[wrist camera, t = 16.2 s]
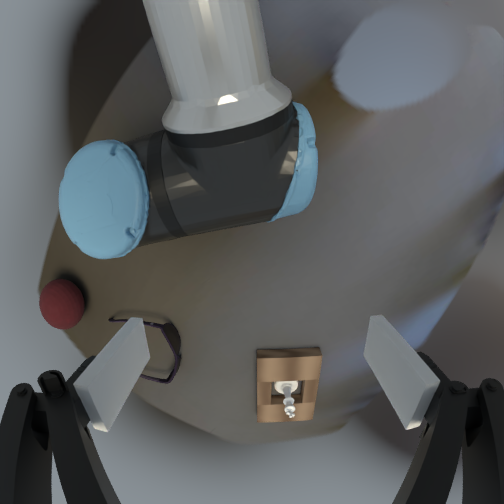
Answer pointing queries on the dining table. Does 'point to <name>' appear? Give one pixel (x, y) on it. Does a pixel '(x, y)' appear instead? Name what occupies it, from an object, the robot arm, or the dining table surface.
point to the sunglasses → (173, 341)
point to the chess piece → (287, 394)
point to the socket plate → (287, 369)
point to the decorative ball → (61, 304)
